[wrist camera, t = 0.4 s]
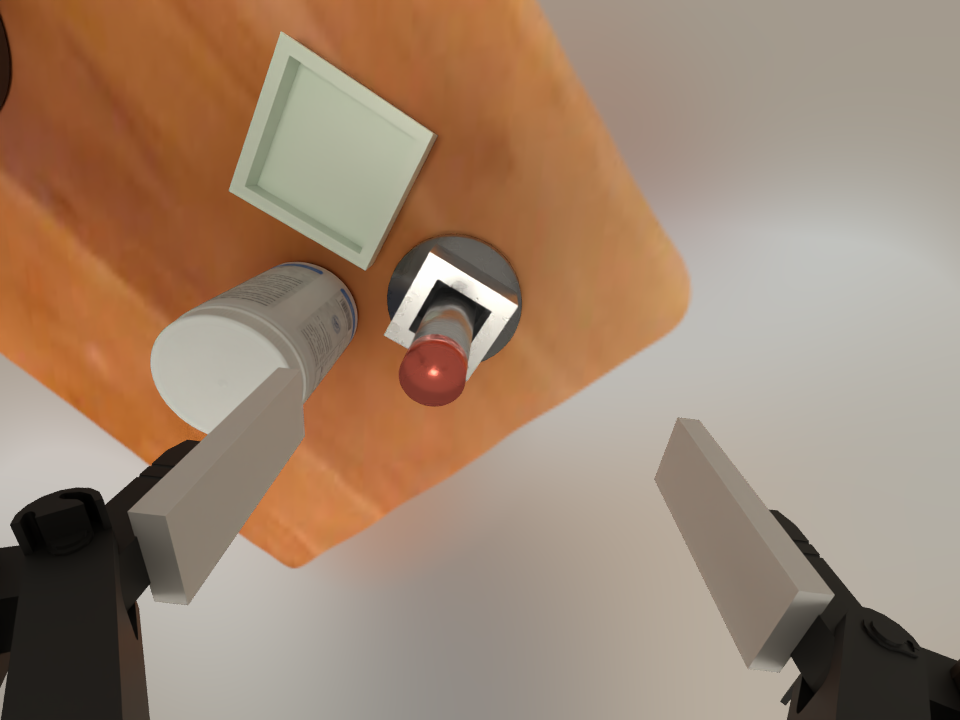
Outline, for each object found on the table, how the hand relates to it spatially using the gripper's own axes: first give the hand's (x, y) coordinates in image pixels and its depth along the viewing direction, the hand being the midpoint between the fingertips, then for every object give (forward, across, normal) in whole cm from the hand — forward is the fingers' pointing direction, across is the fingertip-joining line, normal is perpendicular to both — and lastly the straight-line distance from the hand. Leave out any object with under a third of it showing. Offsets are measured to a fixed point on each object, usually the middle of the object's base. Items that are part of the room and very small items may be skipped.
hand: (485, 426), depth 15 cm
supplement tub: (+26, -16, -6) cm, 31 cm away
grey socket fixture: (+25, -3, -4) cm, 26 cm away
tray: (+26, -14, +7) cm, 30 cm away
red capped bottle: (+24, -3, -4) cm, 24 cm away
